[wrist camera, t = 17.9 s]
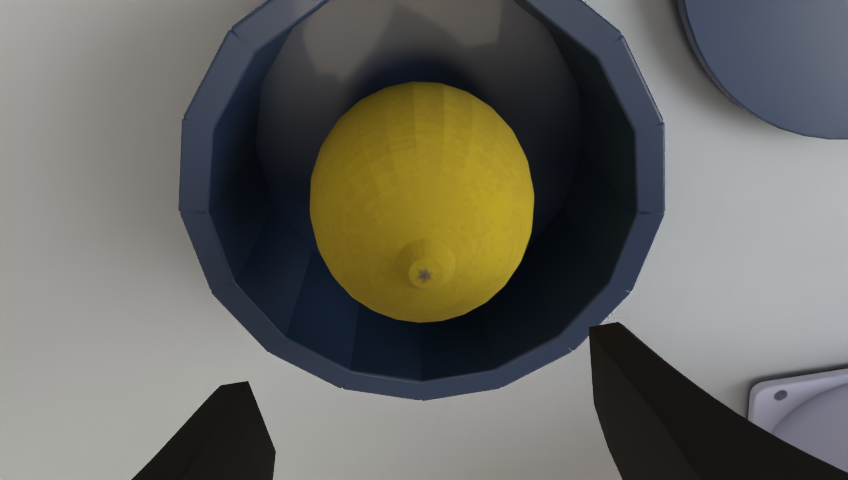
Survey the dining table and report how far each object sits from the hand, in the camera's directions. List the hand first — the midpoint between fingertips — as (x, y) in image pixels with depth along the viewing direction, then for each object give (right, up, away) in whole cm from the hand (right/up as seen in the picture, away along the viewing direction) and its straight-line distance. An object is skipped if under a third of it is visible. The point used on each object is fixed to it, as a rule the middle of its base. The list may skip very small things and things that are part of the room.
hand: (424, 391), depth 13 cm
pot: (0, +6, +7) cm, 9 cm away
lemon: (0, +6, +6) cm, 9 cm away
